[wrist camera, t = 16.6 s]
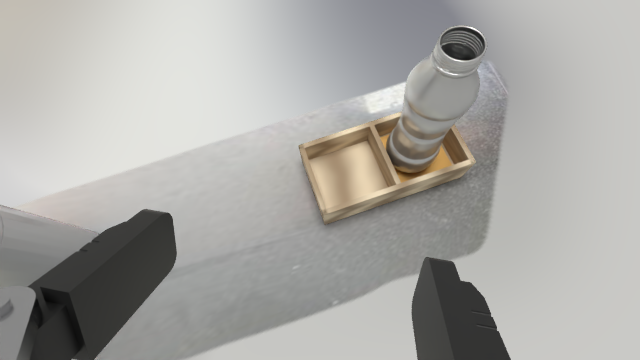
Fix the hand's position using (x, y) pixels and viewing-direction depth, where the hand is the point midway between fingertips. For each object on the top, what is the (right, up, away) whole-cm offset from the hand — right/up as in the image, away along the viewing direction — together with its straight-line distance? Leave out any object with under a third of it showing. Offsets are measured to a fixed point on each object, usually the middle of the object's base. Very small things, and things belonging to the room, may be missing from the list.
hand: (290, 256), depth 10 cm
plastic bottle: (+13, +6, +33) cm, 36 cm away
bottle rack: (+9, +4, +34) cm, 35 cm away
